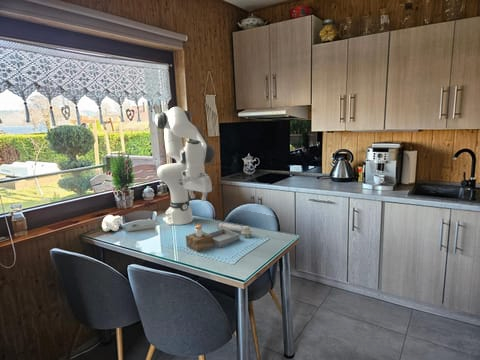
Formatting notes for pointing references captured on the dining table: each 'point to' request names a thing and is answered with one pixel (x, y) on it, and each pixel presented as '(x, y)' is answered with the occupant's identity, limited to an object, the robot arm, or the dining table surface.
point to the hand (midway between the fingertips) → (198, 199)
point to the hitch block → (199, 241)
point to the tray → (224, 237)
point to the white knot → (111, 223)
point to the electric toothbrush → (236, 229)
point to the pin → (198, 231)
